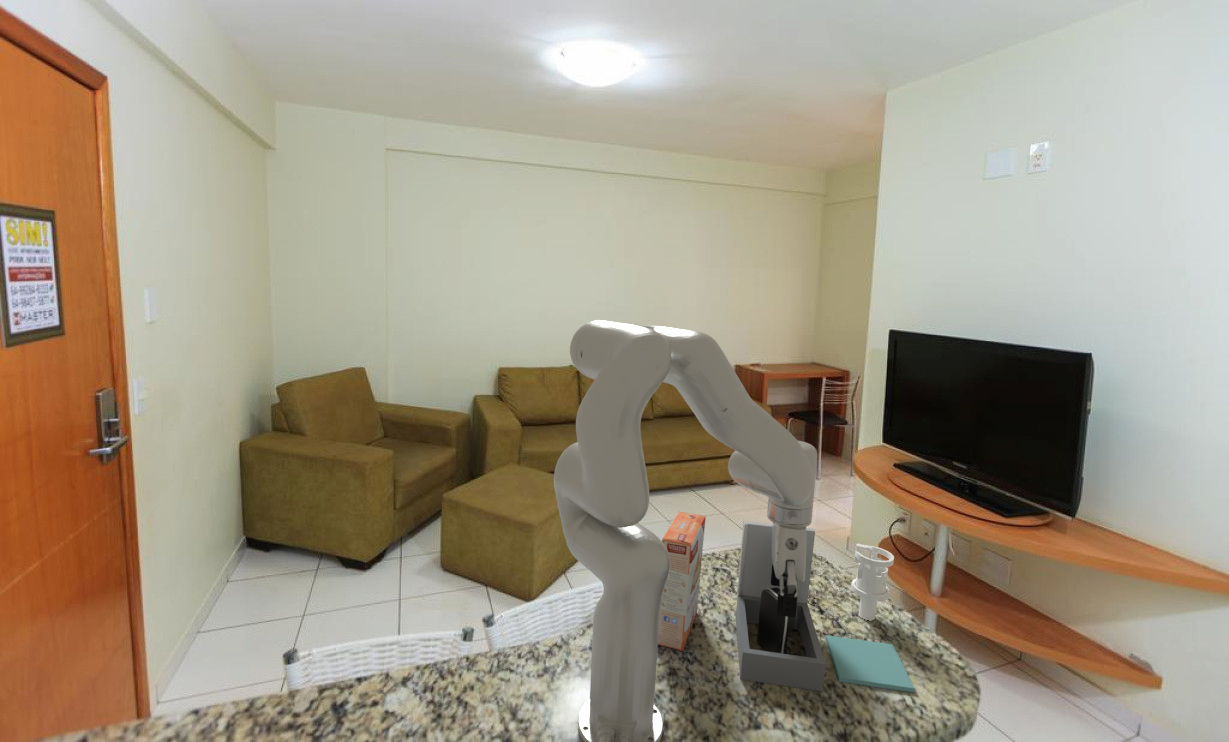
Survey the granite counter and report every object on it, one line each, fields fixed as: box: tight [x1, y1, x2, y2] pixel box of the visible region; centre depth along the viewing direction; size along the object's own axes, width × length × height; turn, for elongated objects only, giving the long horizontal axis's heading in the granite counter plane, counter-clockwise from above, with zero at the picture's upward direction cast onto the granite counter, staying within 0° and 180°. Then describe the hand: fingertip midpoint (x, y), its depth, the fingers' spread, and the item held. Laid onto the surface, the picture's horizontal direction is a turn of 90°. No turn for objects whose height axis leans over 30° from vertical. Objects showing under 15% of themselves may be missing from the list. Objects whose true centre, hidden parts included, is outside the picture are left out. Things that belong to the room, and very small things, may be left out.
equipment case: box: [735, 520, 827, 692], centre depth 104 cm, size 20×13×20 cm
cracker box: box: [658, 511, 707, 652], centre depth 109 cm, size 14×6×21 cm, turn 161°
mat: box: [825, 634, 916, 694], centre depth 103 cm, size 12×12×1 cm
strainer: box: [850, 543, 895, 622], centre depth 117 cm, size 7×7×15 cm
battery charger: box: [756, 588, 797, 654], centre depth 104 cm, size 7×4×11 cm, turn 20°
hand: (782, 599), depth 104 cm, fingers open, 9 cm apart
